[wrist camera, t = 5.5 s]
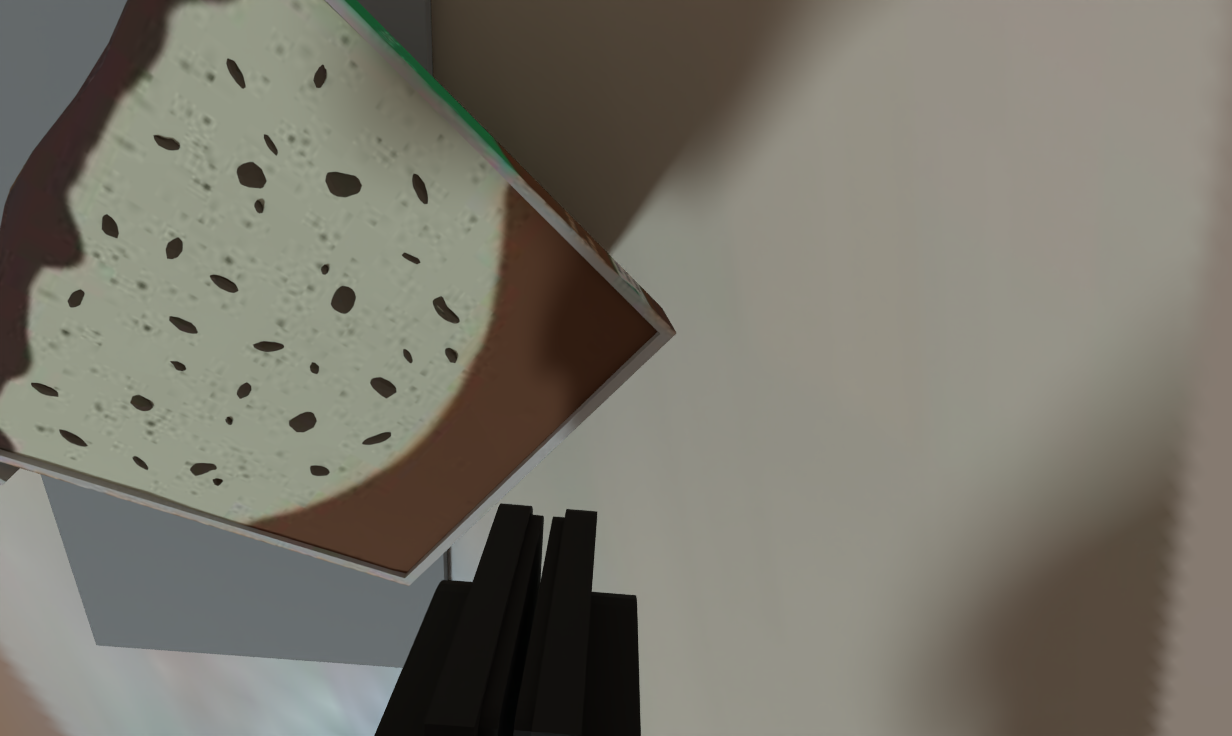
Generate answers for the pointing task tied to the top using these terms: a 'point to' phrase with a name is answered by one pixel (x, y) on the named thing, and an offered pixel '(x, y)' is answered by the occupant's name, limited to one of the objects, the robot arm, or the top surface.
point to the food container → (296, 290)
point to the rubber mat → (159, 541)
